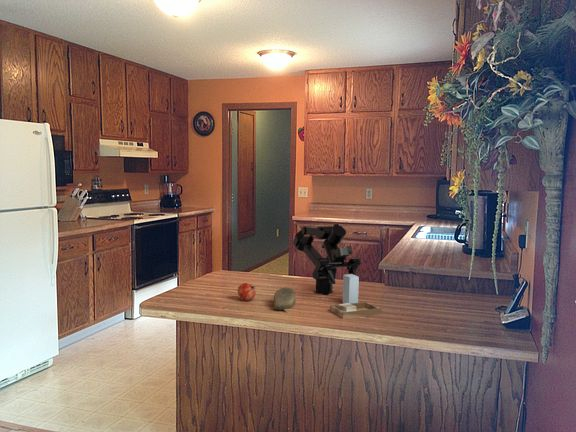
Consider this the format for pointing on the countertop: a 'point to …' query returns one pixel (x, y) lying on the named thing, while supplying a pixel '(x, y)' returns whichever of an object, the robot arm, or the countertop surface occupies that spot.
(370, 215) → the countertop surface
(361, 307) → the wooden tray
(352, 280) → the pale blue rectangular block
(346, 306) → the offcut upper
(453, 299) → the countertop surface
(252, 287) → the pomegranate
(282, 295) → the stone
